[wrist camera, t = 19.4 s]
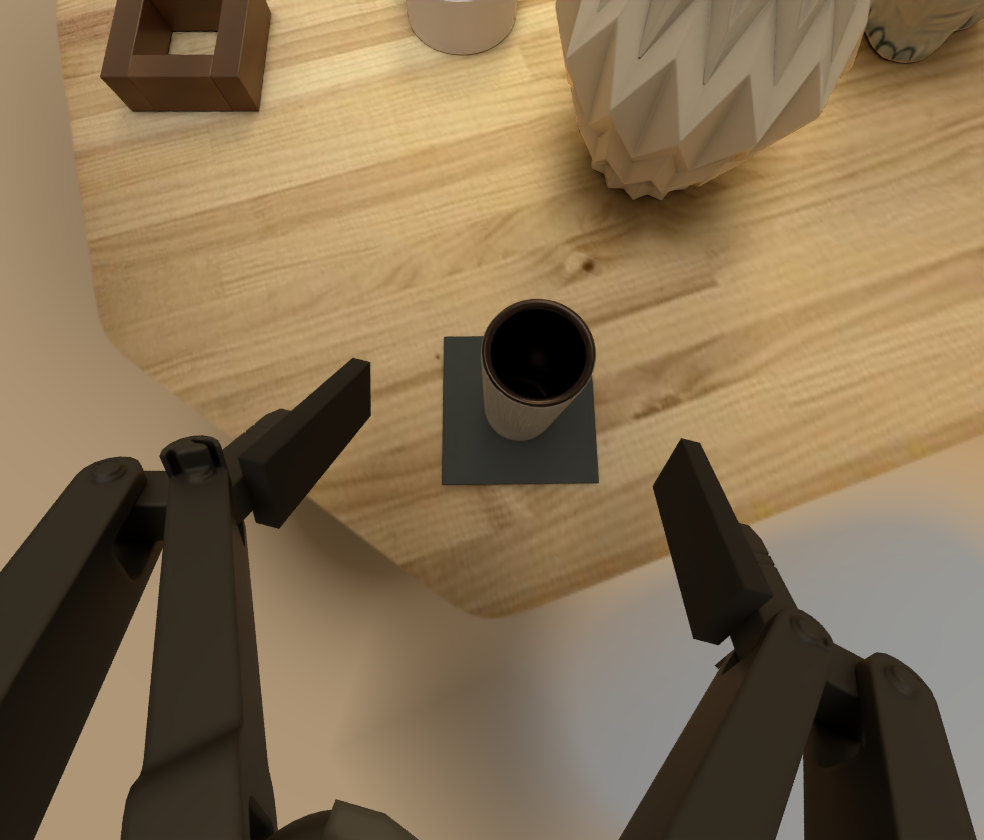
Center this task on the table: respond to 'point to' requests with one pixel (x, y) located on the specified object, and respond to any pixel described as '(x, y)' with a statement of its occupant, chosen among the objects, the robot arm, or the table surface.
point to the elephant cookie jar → (917, 25)
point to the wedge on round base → (461, 23)
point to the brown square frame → (187, 78)
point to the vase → (699, 80)
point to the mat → (494, 458)
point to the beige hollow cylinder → (534, 366)
